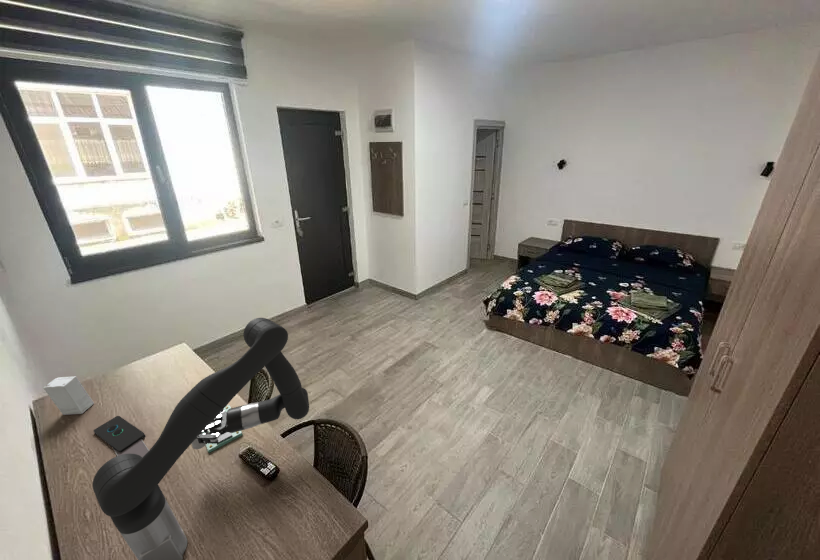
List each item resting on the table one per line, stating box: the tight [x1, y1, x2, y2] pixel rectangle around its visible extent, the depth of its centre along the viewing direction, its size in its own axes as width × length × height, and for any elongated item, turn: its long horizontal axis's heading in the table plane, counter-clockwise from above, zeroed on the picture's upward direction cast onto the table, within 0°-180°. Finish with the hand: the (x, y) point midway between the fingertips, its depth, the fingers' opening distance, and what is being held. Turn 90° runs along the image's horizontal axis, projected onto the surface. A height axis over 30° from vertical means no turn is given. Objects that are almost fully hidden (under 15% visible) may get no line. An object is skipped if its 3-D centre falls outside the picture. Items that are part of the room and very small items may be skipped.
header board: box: [202, 404, 243, 454], centre depth 119 cm, size 18×11×2 cm, turn 40°
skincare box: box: [43, 375, 95, 416], centre depth 127 cm, size 8×6×15 cm
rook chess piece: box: [191, 433, 206, 450], centre depth 101 cm, size 4×4×8 cm
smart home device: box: [93, 415, 146, 453], centre depth 118 cm, size 8×2×20 cm
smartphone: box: [113, 439, 150, 457], centre depth 113 cm, size 7×1×15 cm
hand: (184, 433), depth 99 cm, fingers closed on rook chess piece, 3 cm apart
